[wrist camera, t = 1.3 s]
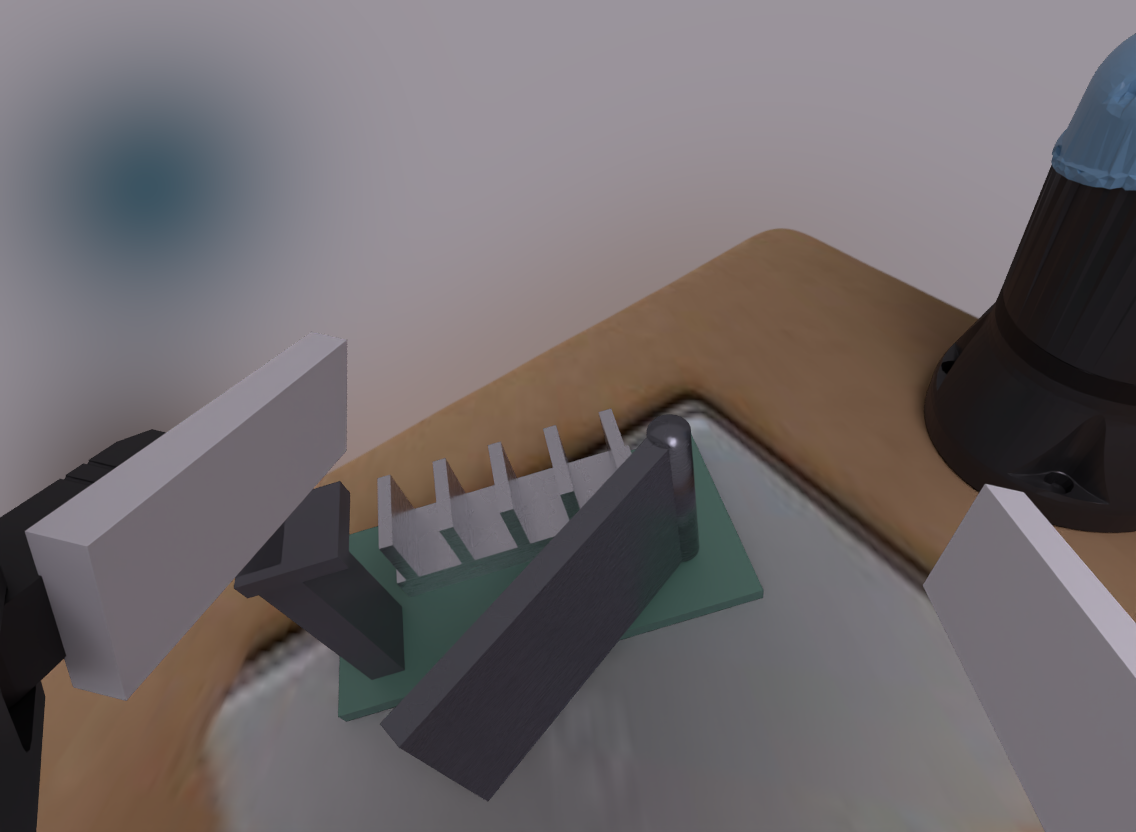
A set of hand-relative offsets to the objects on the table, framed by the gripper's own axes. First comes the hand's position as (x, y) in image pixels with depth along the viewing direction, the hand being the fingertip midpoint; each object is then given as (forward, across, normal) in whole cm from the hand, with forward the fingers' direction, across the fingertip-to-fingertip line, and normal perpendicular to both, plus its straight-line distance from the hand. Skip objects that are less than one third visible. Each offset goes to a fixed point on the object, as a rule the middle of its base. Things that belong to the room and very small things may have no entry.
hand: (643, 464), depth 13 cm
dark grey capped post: (+14, -9, -24) cm, 30 cm away
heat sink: (+21, -4, -20) cm, 29 cm away
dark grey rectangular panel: (+13, +2, -20) cm, 24 cm away
